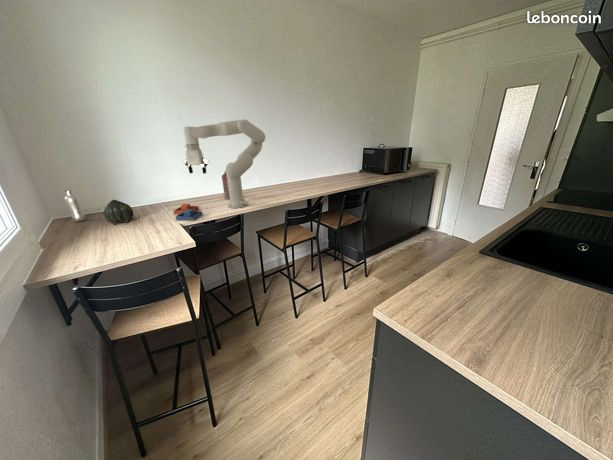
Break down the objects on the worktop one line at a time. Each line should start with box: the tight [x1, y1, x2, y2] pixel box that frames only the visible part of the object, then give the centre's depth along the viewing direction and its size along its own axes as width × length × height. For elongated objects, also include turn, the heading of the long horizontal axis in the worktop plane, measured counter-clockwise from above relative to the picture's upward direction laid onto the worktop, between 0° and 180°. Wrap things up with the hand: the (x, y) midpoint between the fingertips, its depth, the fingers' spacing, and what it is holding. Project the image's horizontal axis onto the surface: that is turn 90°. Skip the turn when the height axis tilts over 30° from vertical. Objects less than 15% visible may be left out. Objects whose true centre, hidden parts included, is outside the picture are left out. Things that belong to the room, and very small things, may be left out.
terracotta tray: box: [173, 205, 200, 215], centre depth 177 cm, size 12×11×2 cm
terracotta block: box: [180, 203, 192, 211], centre depth 177 cm, size 4×4×4 cm
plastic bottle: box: [63, 189, 86, 223], centre depth 159 cm, size 6×7×20 cm
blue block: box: [183, 209, 194, 217], centre depth 165 cm, size 4×4×4 cm
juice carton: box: [221, 170, 230, 201], centre depth 205 cm, size 7×7×22 cm
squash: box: [103, 199, 134, 225], centre depth 158 cm, size 14×15×15 cm
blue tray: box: [175, 210, 204, 222], centre depth 166 cm, size 12×11×2 cm
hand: (198, 173), depth 170 cm, fingers open, 9 cm apart
